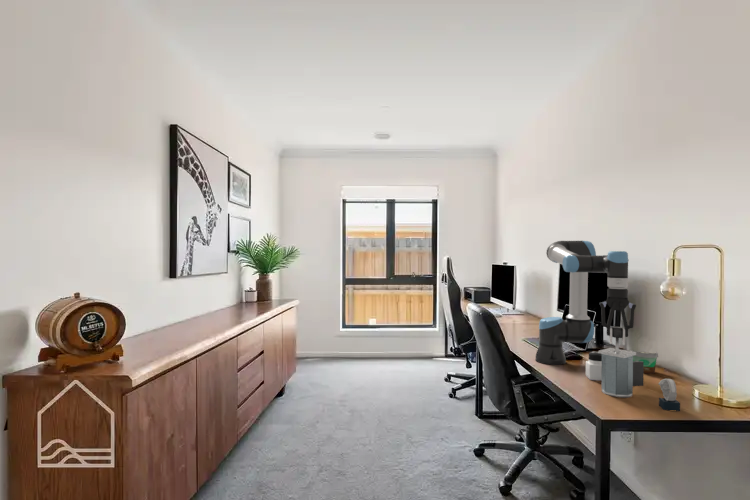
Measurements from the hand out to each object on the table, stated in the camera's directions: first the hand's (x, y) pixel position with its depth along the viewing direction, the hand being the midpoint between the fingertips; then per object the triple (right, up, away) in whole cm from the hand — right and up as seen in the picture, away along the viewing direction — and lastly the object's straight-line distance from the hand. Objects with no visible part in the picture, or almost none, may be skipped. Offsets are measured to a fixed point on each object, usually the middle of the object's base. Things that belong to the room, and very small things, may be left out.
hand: (617, 343), depth 182 cm
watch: (+10, -21, -17) cm, 29 cm away
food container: (+31, -21, +32) cm, 49 cm away
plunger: (0, -16, 0) cm, 16 cm away
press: (+2, -21, +1) cm, 21 cm away
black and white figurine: (+2, -21, +21) cm, 30 cm away
